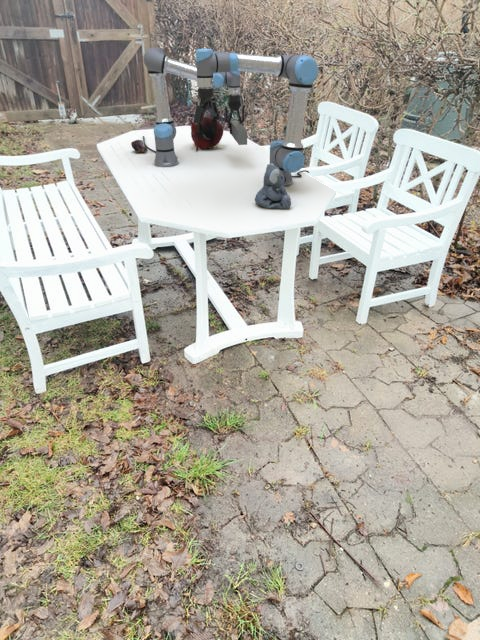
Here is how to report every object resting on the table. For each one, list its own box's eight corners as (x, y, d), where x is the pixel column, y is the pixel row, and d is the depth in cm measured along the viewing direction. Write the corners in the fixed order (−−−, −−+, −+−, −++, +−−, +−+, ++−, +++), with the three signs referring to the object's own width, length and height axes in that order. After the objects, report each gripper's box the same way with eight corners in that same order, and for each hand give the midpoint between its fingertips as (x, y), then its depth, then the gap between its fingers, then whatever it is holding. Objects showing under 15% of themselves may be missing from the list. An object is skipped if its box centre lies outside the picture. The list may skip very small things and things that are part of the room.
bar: (230, 133, 300) (230, 120, 295) (238, 133, 300) (237, 120, 296) (239, 145, 274) (238, 131, 269) (247, 144, 274) (247, 130, 270)
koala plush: (292, 209, 224) (294, 170, 213) (256, 210, 223) (257, 171, 212) (286, 197, 238) (288, 160, 227) (252, 199, 237) (253, 161, 226)
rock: (144, 151, 325) (130, 152, 321) (142, 138, 322) (128, 139, 318) (149, 152, 316) (135, 153, 312) (147, 139, 312) (133, 140, 308)
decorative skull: (189, 122, 333) (186, 119, 309) (220, 115, 332) (219, 111, 309) (196, 152, 340) (193, 151, 316) (226, 145, 339) (226, 144, 315)
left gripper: (221, 96, 280) (222, 135, 293) (249, 94, 282) (249, 134, 296) (219, 94, 286) (220, 132, 299) (247, 93, 288) (247, 131, 302)
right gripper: (198, 91, 197) (200, 142, 209) (225, 84, 215) (226, 131, 228) (183, 90, 200) (187, 140, 212) (212, 84, 218) (214, 130, 230)
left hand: (234, 133), depth 297 cm, fingers closed on bar, 5 cm apart
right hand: (207, 136), depth 220 cm, fingers open, 13 cm apart
